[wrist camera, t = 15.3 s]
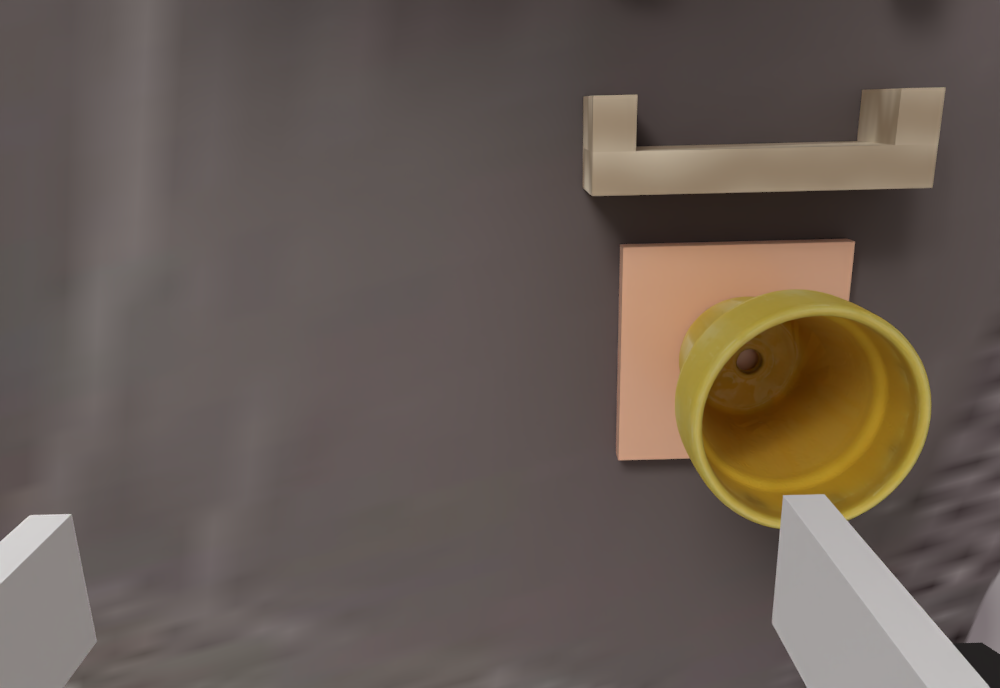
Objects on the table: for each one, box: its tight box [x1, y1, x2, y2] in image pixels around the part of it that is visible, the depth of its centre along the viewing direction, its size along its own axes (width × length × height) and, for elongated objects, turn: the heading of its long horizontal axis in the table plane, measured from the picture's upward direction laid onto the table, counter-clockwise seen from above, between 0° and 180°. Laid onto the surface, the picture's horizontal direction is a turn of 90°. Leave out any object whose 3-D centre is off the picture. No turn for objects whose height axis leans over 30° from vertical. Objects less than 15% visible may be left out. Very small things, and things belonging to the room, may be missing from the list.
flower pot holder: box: [583, 87, 946, 196], centre depth 37 cm, size 16×16×4 cm
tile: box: [616, 239, 855, 460], centre depth 43 cm, size 12×12×1 cm
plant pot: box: [675, 289, 931, 529], centre depth 38 cm, size 10×10×10 cm
